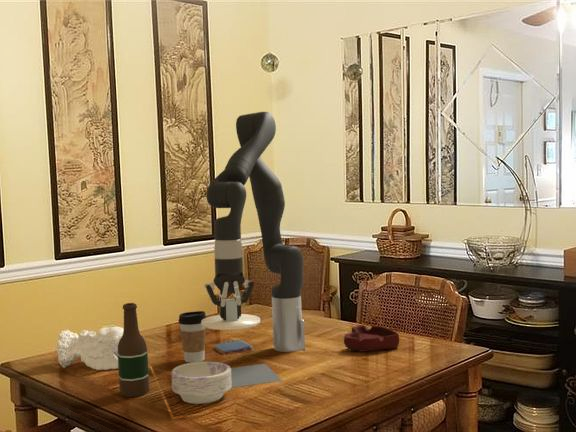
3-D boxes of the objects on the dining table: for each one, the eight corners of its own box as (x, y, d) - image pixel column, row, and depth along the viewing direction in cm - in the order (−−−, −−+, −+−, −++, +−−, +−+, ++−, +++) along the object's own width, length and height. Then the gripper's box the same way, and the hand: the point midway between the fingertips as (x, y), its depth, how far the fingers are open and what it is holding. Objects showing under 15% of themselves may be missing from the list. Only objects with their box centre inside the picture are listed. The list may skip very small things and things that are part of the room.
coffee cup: (203, 365, 210) (201, 316, 209) (176, 365, 212) (173, 315, 210) (212, 357, 218) (209, 309, 217) (186, 357, 220) (183, 309, 219)
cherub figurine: (71, 325, 223) (132, 318, 221) (77, 364, 224) (138, 357, 221) (53, 335, 210) (117, 327, 208) (60, 376, 211) (124, 368, 208)
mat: (265, 365, 208) (265, 363, 208) (282, 382, 191) (282, 380, 191) (208, 373, 202) (208, 371, 202) (220, 391, 186) (220, 389, 186)
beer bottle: (122, 388, 192) (116, 301, 189) (151, 387, 192) (146, 300, 190) (117, 398, 184) (112, 307, 182) (147, 396, 184) (142, 306, 182)
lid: (252, 314, 202) (251, 292, 201) (267, 326, 186) (266, 302, 186) (196, 319, 197) (195, 297, 196) (207, 332, 182) (206, 308, 181)
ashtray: (394, 356, 212) (393, 340, 212) (341, 353, 218) (341, 337, 217) (404, 341, 229) (403, 326, 229) (355, 338, 235) (354, 324, 234)
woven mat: (224, 357, 220) (224, 351, 219) (212, 349, 229) (211, 343, 229) (255, 351, 224) (255, 345, 224) (241, 344, 234) (241, 338, 234)
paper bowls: (241, 391, 186) (240, 361, 185) (217, 411, 172) (215, 379, 171) (189, 387, 191) (188, 358, 190) (161, 406, 177) (160, 375, 176)
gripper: (250, 252, 196) (252, 314, 197) (200, 256, 192) (202, 318, 193) (257, 255, 189) (259, 319, 190) (205, 259, 185) (207, 324, 186)
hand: (230, 318), depth 191 cm, fingers closed on lid, 3 cm apart
